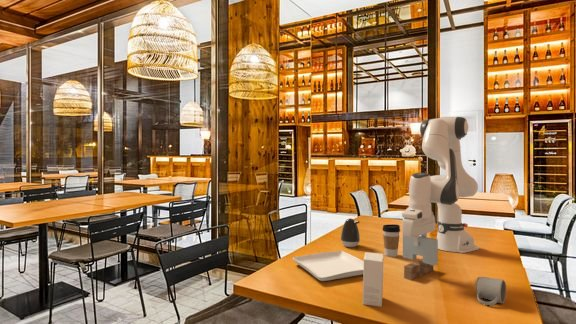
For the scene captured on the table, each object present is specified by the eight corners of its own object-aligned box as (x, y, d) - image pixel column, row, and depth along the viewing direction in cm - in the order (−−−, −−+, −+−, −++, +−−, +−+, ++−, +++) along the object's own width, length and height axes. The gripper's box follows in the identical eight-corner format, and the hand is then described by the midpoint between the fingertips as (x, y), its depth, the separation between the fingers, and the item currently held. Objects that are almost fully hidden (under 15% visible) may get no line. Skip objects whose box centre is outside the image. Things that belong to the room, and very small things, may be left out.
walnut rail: (426, 268, 147) (426, 257, 147) (433, 270, 145) (433, 258, 145) (404, 277, 136) (404, 265, 136) (410, 280, 134) (410, 267, 133)
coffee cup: (401, 258, 162) (401, 227, 161) (382, 257, 163) (383, 226, 163) (398, 253, 170) (399, 223, 170) (381, 252, 172) (381, 223, 171)
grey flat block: (402, 257, 145) (402, 234, 145) (406, 255, 147) (406, 233, 146) (433, 265, 134) (434, 240, 134) (437, 263, 136) (437, 239, 136)
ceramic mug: (480, 292, 122) (480, 271, 121) (506, 299, 116) (506, 277, 116) (471, 302, 114) (471, 280, 114) (499, 310, 108) (499, 287, 108)
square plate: (291, 264, 153) (291, 256, 153) (342, 257, 164) (342, 249, 164) (319, 286, 128) (319, 276, 128) (377, 276, 139) (377, 266, 139)
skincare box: (364, 294, 120) (364, 251, 119) (383, 297, 118) (383, 253, 117) (362, 305, 111) (362, 258, 111) (382, 307, 110) (383, 260, 109)
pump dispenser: (355, 249, 176) (355, 221, 175) (337, 246, 182) (337, 218, 182) (363, 245, 184) (363, 218, 183) (346, 242, 190) (346, 216, 190)
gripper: (425, 208, 149) (425, 239, 149) (399, 213, 136) (399, 247, 136) (439, 210, 144) (439, 242, 144) (413, 215, 131) (413, 250, 131)
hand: (419, 244), depth 140 cm, fingers closed on grey flat block, 3 cm apart
